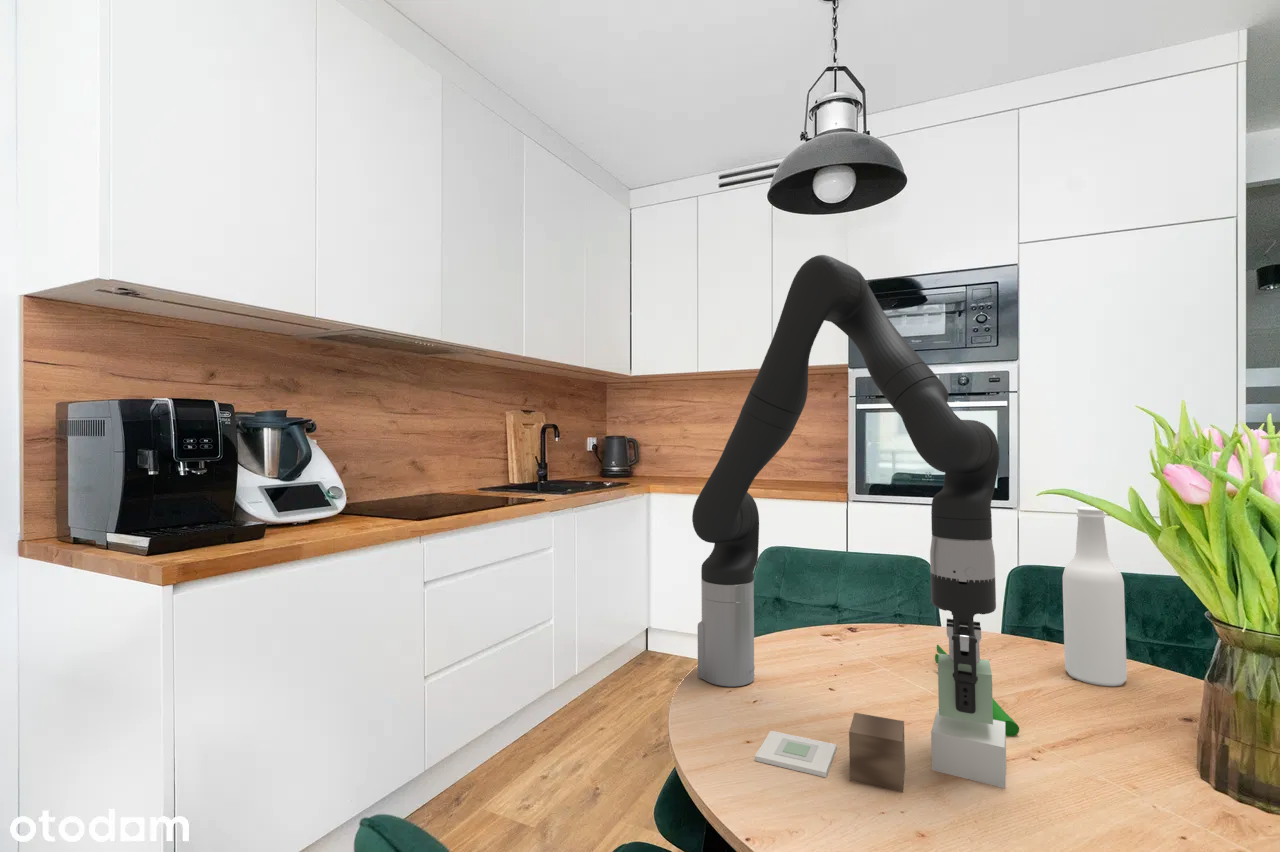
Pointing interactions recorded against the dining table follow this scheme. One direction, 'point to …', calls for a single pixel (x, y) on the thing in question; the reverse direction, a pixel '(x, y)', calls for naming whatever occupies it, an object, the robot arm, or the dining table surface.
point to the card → (797, 753)
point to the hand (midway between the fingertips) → (965, 701)
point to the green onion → (998, 712)
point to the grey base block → (969, 749)
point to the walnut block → (877, 752)
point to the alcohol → (1094, 607)
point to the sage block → (981, 690)
